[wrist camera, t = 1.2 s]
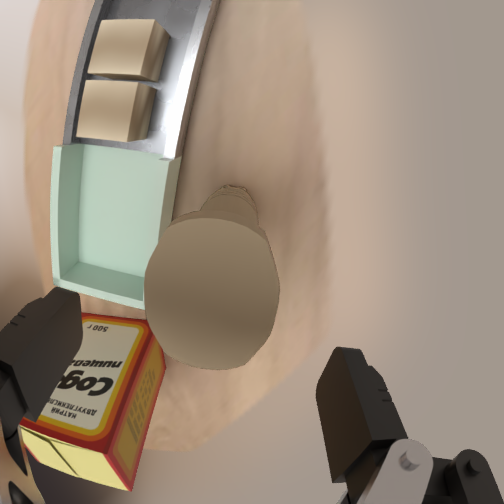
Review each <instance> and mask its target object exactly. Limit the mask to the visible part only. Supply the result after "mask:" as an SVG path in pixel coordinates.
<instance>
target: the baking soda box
mask: <svg viewBox="0 0 504 504" xmlns="http://www.w3.org/2000/svg"><path fill="white" fill-rule="evenodd" d="M81 315H82V325H83V340H82V344H81V347H80V349H79V351H78V353H77V354H76V356H75V357H74V359H73V361H72V362H71V364H70V365H69V367H68V368H67V370H66V372H65V373H64V375H63V377H62V378H61V380H60V382H59V383H58V385H57V387H56V388H55V390H54V392H53V393H52V395H51V397H50V398H49V400H48V402H47V404H46V405H45V407H44V409H43V411H42V412H41V414H40V416H39V418H38V420H37V421H36V423H35V422H33V421H31V420H29V419H27V418H25V417H23V418H22V420H21V421H20V423H19V425H20V427H21V431H22V436H23V441H24V445H25V447H26V448H27V449H28V450H29V452H30V453H31V454H32V455H33V456H34V458H35V459H36V460H37V461H38V462H41V463H43V464H45V465H48V466H50V467H53V468H55V469H57V470H60V471H62V472H65V473H68V474H70V475H73V476H76V477H81V478H84V479H87V480H90V481H94V482H97V483H100V484H104V485H107V486H111V487H116V488H119V489H123V490H127V491H132V489H133V484H134V480H135V477H136V473H137V469H138V465H139V461H140V457H141V453H142V450H143V446H144V442H145V439H146V435H147V431H148V428H149V424H150V421H151V417H152V414H153V410H154V407H155V403H156V400H157V396H158V393H159V390H160V386H161V383H162V380H163V376H164V373H165V370H166V366H165V360H164V354H163V349H162V347H161V346H160V344H159V342H158V341H157V339H156V337H155V335H154V334H153V332H152V330H151V328H150V326H149V323H148V321H147V320H142V319H132V318H123V317H114V316H105V315H97V314H90V313H82V312H81Z"/></svg>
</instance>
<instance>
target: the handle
mask: <svg viewBox="0 0 504 504" xmlns="http://www.w3.org/2000/svg"><path fill="white" fill-rule="evenodd" d="M279 294H280V286H279V278H278V274H277V269H276V265H275V261H274V258H273V254H272V251H271V248H270V245H269V242H268V239H267V236H266V233H265V231H264V230H263V229H262V228H260V227H259V226H258V215H257V210H256V207H255V204H254V202H253V200H252V198H251V197H250V196H249V195H248V194H247V190H246V189H245V188H243V187H238V188H236V187H231V186H229V185H225V186H223V187H221V189H220V190H218V191H216V192H215V193H213V194H212V195H211V196H210V197H209V198H208V199H207V201H206V202H205V203H204V205H203V206H202V208H201V209H200V211H193V212H190V213H188V214H185V215H182V216H180V217H179V218H177V219H175V220H173V221H172V222H171V223H170V225H169V226H168V227H167V229H166V230H165V232H164V234H163V235H162V237H161V239H160V241H159V242H158V244H157V246H156V248H155V250H154V252H153V253H152V255H151V257H150V259H149V262H148V264H147V267H146V270H145V277H144V305H145V313H146V318H147V321H148V323H149V326H150V328H151V330H152V332H153V334H154V335H155V337H156V339H157V341H158V342H159V344H160V346H161V347H162V349H163V351H164V352H165V354H167V355H168V356H170V357H171V358H173V359H175V360H176V361H178V362H180V363H183V364H186V365H189V366H192V367H196V368H201V369H210V370H227V369H232V368H237V367H240V366H243V365H245V364H246V363H247V362H248V361H249V360H250V359H251V358H252V357H253V356H254V355H255V354H256V352H257V351H258V350H259V349H260V348H261V347H262V346H263V345H264V343H265V342H266V340H267V339H268V337H269V336H270V334H271V331H272V328H273V325H274V321H275V317H276V312H277V308H278V303H279Z"/></svg>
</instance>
